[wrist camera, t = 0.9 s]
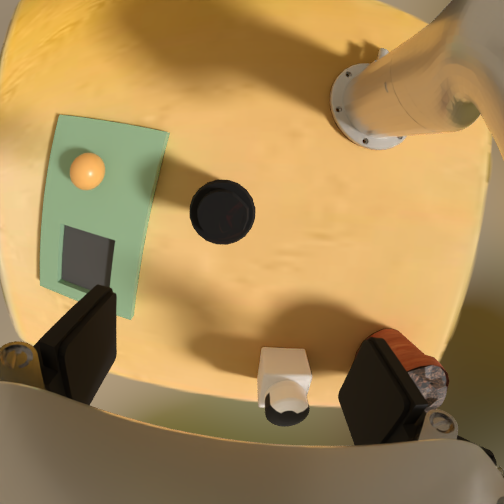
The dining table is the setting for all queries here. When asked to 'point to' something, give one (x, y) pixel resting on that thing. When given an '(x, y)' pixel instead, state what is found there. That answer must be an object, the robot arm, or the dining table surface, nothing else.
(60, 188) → the mat
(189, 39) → the dining table surface
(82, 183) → the orange ball
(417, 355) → the potted plant
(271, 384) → the medicine bottle
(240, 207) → the coffee cup
